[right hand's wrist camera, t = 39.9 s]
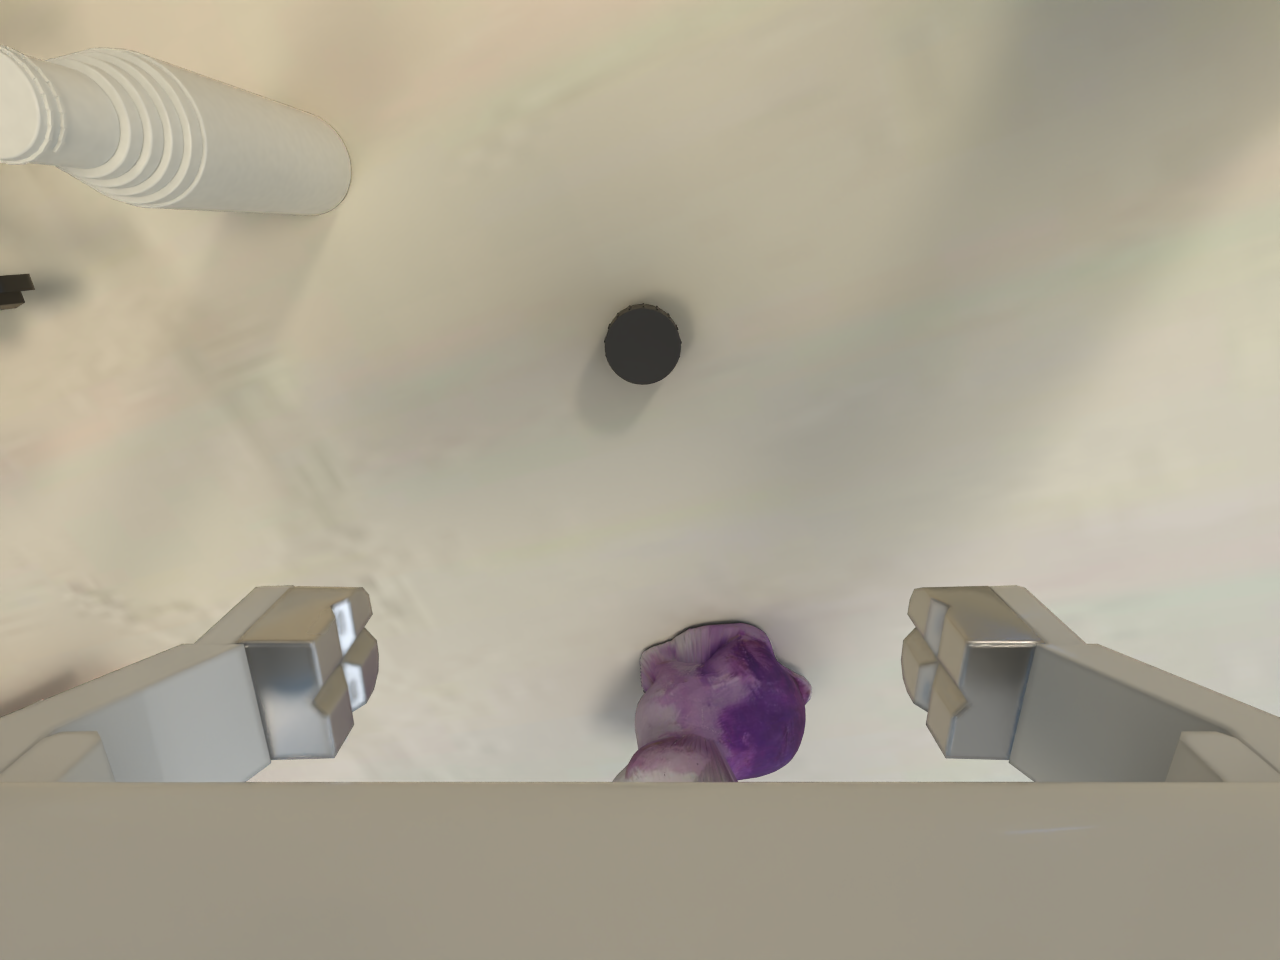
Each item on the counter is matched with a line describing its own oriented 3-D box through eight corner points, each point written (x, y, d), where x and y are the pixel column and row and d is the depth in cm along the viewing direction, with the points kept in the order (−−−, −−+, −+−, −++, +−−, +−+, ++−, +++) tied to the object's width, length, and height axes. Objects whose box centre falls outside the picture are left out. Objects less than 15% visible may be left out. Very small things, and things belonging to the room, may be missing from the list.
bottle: (371, 181, 34) (119, 135, 18) (299, 234, 35) (-5, 237, 19) (308, 90, 33) (-29, -53, 16) (235, 147, 34) (-156, 66, 17)
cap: (605, 302, 36) (603, 306, 34) (680, 303, 36) (683, 307, 34) (605, 376, 38) (604, 384, 36) (678, 377, 38) (680, 385, 36)
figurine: (600, 682, 44) (582, 892, 30) (713, 582, 42) (750, 760, 28) (701, 762, 47) (728, 991, 33) (814, 671, 44) (895, 878, 30)
